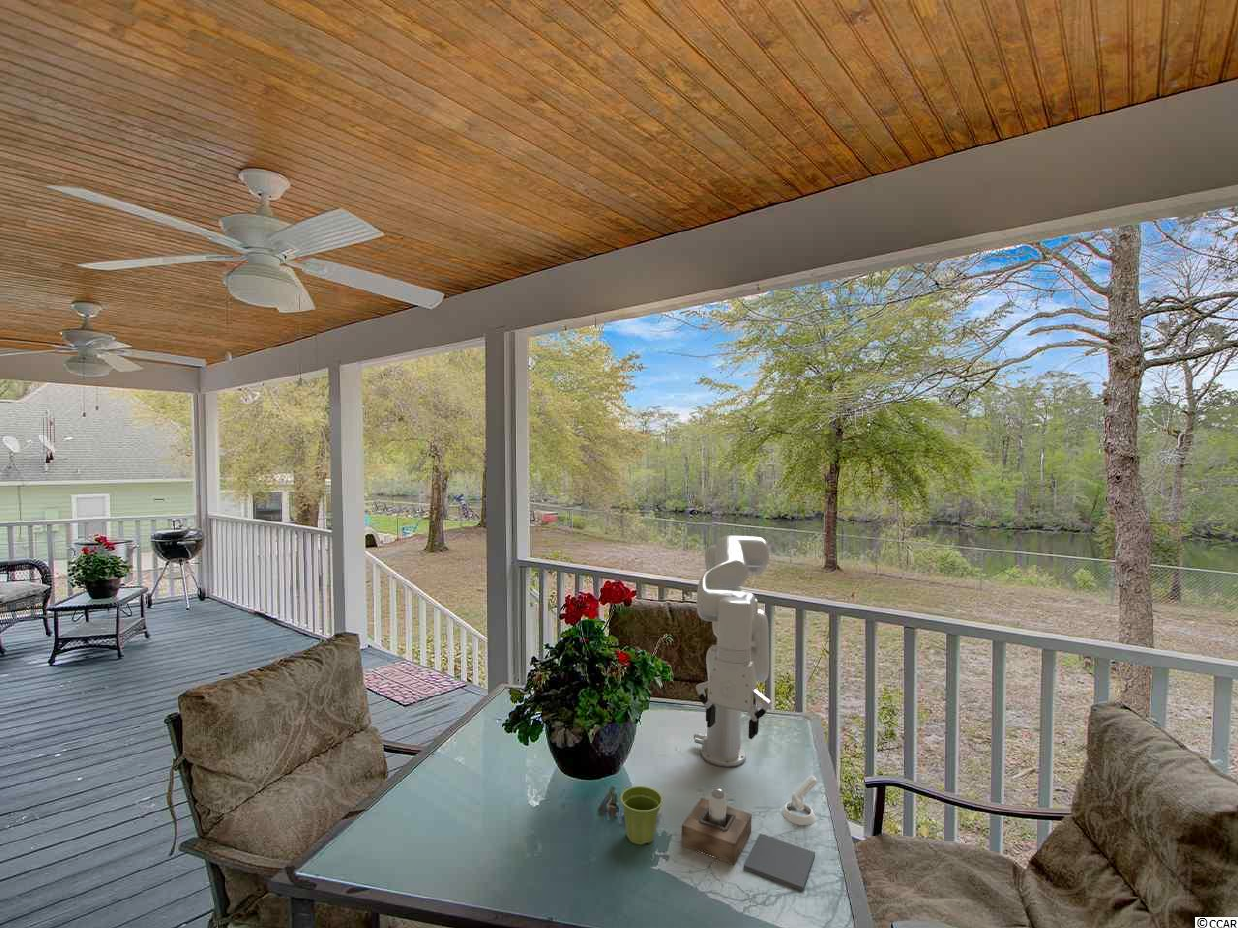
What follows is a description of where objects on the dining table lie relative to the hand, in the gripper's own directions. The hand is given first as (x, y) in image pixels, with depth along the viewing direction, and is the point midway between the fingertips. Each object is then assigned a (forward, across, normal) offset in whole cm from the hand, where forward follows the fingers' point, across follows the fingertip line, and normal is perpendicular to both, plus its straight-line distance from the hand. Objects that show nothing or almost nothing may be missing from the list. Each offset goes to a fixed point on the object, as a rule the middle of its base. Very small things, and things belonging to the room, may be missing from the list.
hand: (731, 730), depth 131 cm
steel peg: (+24, -2, -1) cm, 24 cm away
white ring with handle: (+24, +11, +18) cm, 32 cm away
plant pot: (+25, -17, -10) cm, 31 cm away
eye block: (+24, -2, -1) cm, 24 cm away
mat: (+24, +12, 0) cm, 27 cm away
